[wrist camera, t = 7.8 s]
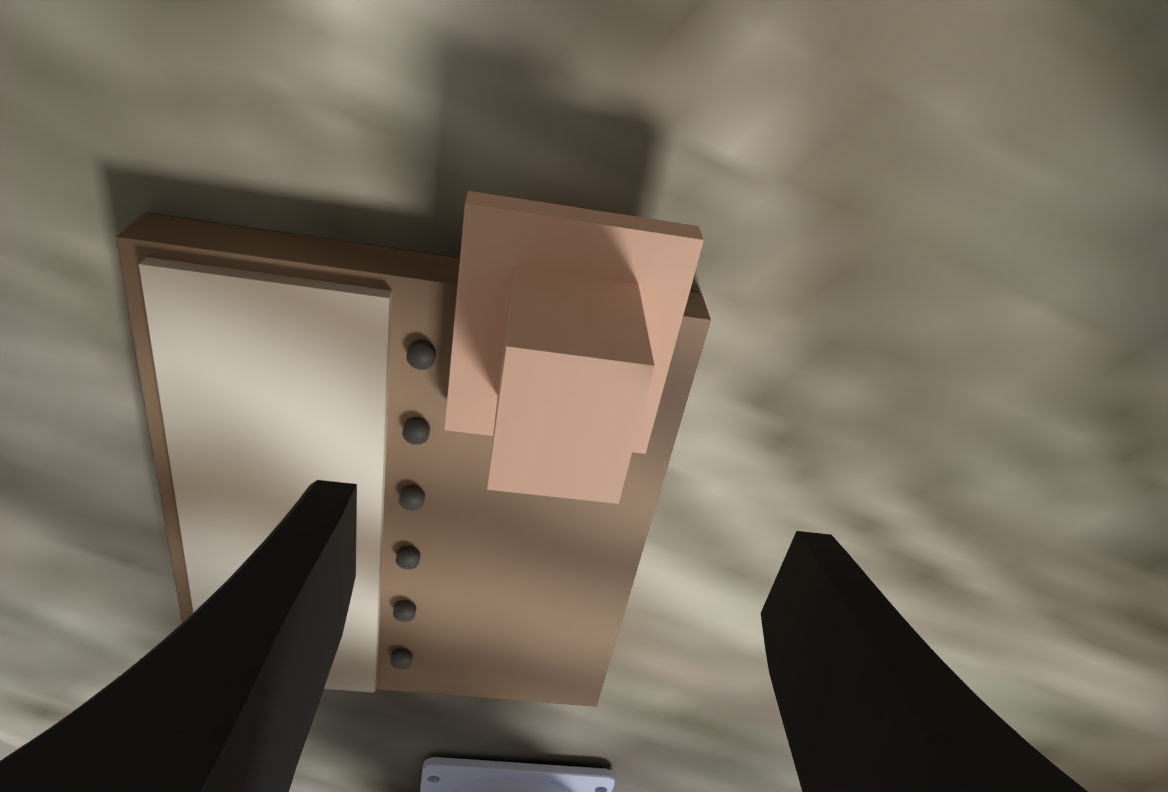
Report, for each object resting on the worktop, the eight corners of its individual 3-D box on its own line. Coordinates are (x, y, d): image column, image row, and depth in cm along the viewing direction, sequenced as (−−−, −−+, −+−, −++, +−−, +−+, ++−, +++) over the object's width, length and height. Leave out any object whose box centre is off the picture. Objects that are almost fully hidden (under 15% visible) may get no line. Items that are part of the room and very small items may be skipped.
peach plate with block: (642, 435, 21) (660, 551, 18) (448, 411, 20) (425, 527, 17) (698, 226, 18) (733, 316, 14) (468, 190, 17) (445, 276, 14)
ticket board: (594, 671, 30) (596, 716, 28) (207, 639, 28) (186, 685, 26) (701, 292, 21) (713, 328, 19) (144, 212, 19) (107, 243, 17)
